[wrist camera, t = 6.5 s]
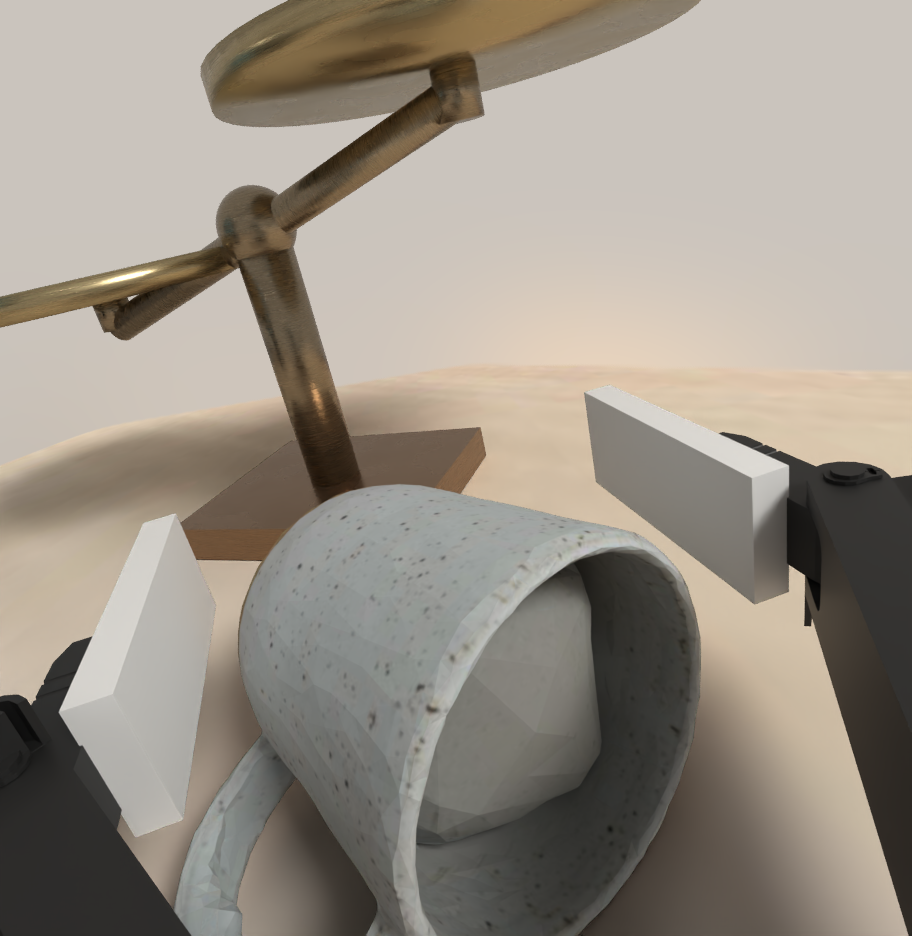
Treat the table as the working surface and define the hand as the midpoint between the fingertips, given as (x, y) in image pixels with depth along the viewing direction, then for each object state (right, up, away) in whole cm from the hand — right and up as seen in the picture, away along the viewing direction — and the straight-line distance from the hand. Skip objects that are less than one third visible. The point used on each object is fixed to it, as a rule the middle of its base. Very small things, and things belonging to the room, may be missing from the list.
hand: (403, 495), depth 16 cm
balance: (-4, -1, +15) cm, 16 cm away
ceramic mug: (+1, -8, -2) cm, 8 cm away
